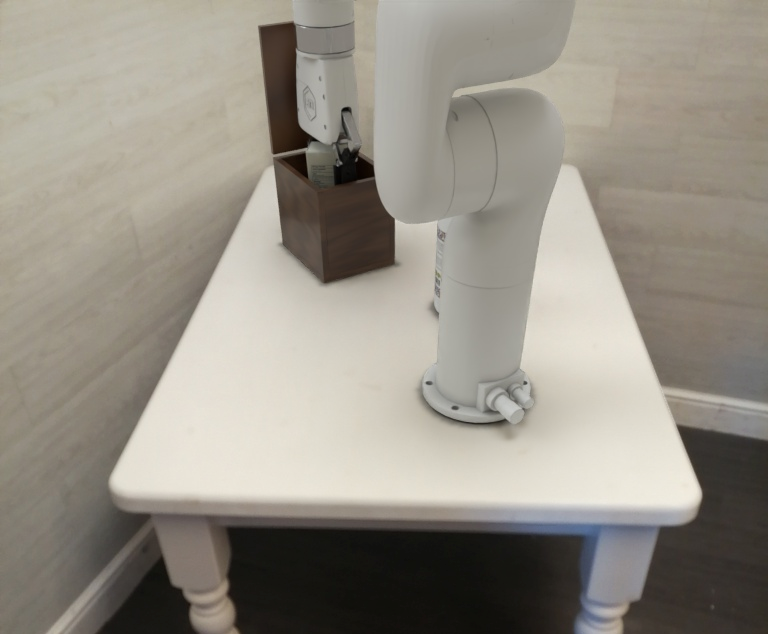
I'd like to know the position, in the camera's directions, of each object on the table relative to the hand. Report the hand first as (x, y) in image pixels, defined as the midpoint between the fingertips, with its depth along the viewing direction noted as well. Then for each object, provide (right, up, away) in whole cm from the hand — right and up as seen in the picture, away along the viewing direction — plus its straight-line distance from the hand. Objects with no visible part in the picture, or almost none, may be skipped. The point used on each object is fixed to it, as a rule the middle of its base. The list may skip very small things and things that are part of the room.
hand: (333, 183), depth 103 cm
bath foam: (+17, -19, -4) cm, 26 cm away
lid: (-3, +12, -3) cm, 13 cm away
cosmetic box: (0, -5, +5) cm, 7 cm away
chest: (0, -7, +8) cm, 11 cm away
